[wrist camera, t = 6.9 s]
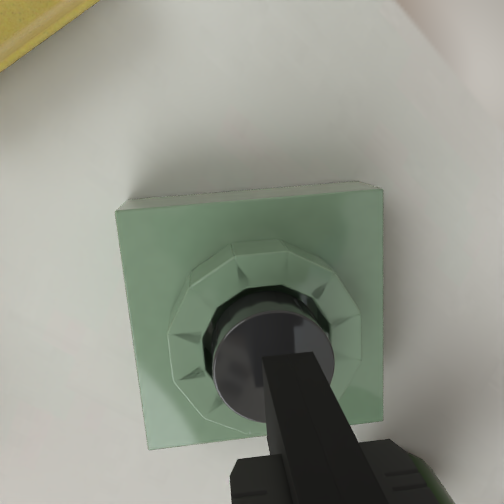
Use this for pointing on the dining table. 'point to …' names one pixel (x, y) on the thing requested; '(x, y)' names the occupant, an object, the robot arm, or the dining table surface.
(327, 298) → the button base
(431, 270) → the dining table surface
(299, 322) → the grey knob
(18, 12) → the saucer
